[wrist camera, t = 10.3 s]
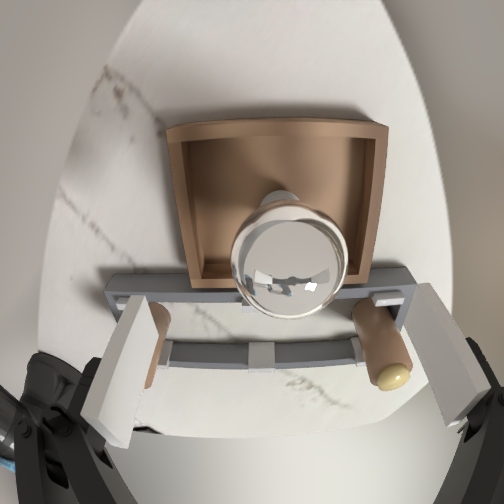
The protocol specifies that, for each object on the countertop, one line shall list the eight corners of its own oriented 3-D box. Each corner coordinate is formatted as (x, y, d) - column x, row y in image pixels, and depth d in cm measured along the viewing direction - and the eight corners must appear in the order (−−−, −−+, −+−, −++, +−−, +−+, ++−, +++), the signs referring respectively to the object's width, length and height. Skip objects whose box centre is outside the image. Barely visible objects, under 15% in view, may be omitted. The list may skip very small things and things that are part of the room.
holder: (143, 346, 36) (134, 369, 33) (114, 274, 30) (99, 297, 26) (382, 341, 35) (390, 365, 31) (406, 266, 28) (421, 290, 25)
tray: (197, 268, 29) (191, 288, 26) (176, 124, 22) (165, 130, 19) (358, 264, 28) (367, 282, 26) (374, 121, 21) (388, 126, 18)
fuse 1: (141, 327, 34) (116, 393, 26) (131, 300, 32) (99, 368, 23) (174, 328, 34) (155, 399, 25) (166, 301, 31) (141, 374, 23)
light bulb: (239, 159, 23) (224, 233, 12) (326, 166, 23) (380, 243, 13) (236, 236, 26) (224, 342, 16) (313, 241, 26) (343, 345, 16)
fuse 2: (348, 325, 33) (367, 397, 24) (355, 297, 31) (379, 371, 22) (382, 322, 33) (406, 390, 24) (391, 294, 30) (422, 364, 22)
